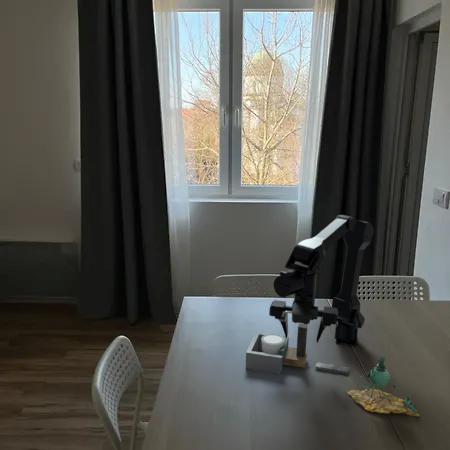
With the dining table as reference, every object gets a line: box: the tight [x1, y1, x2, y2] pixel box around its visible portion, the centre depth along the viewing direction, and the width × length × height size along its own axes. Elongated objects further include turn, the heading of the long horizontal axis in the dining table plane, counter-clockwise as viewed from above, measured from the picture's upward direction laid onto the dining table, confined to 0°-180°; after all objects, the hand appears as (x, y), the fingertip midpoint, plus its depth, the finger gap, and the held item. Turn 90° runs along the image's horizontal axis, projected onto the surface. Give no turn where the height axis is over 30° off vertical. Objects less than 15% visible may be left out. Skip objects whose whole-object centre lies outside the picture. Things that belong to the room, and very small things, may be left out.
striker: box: [279, 323, 308, 369], centre depth 134 cm, size 7×8×11 cm
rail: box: [315, 361, 349, 376], centre depth 132 cm, size 9×2×1 cm, turn 74°
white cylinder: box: [261, 333, 285, 355], centre depth 136 cm, size 7×7×7 cm
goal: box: [245, 331, 290, 375], centre depth 137 cm, size 10×13×5 cm
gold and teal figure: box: [347, 354, 420, 417], centre depth 115 cm, size 10×18×15 cm, turn 48°
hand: (301, 339), depth 133 cm, fingers open, 8 cm apart
